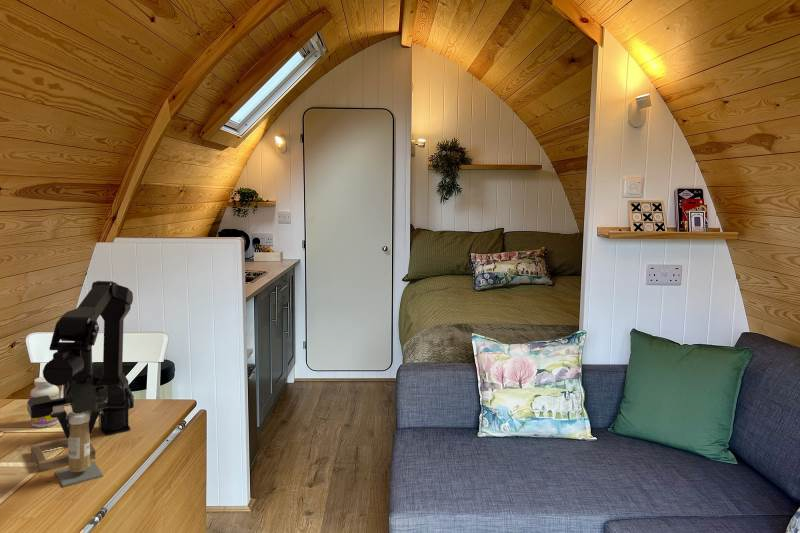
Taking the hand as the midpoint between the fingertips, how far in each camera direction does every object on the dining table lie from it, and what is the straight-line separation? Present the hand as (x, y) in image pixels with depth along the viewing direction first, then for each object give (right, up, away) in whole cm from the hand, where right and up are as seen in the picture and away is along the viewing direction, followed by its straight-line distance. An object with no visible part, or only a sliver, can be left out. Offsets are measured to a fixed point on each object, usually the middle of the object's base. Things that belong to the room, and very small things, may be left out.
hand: (78, 435), depth 125 cm
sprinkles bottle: (0, -8, +1) cm, 8 cm away
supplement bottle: (-25, -5, +26) cm, 36 cm away
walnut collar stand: (-9, -8, +9) cm, 15 cm away
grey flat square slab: (-1, -9, +1) cm, 10 cm away
